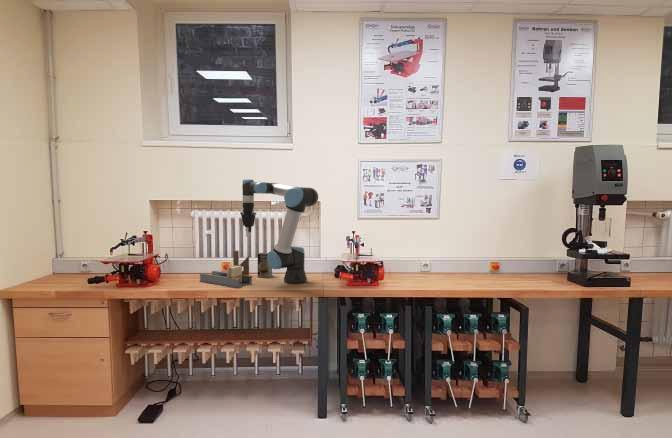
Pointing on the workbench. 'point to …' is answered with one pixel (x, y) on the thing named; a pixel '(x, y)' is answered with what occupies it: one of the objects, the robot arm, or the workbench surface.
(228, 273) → the maple block
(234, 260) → the dark angular piece
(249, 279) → the steel chute
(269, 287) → the workbench surface
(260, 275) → the coffee box
